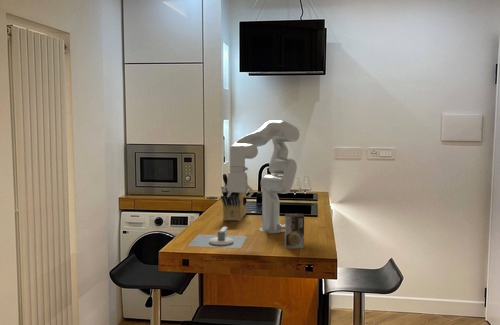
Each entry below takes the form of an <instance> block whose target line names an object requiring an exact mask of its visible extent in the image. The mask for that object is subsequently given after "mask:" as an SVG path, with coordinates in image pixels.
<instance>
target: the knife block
mask: <svg viewBox="0 0 500 325" xmlns="http://www.w3.org/2000/svg"><path fill="white" fill-rule="evenodd" d="M227 179H228V174H226V173H224V174H222V180H223V183H224V186H221V187H220V190H221V193H222V195H221V196H220V199H221V203H222V216H223V217H222V218H223V221H225V222H226V221H238V222H241V220H242V219H243V218H244V217H245V215H246V214H247V211H248V208H247V207H248V206H247V203H246V204H245V206H244V205H243V198H244V195H243V193H242V192H232V193H231V205H229V203H228V197H227V196H226V195H225V194H224V192H223V191H222V188H223V187H225V186H226V185H227ZM225 190H226V191H227V188H226V189H225ZM227 192H228V191H227ZM228 193H229V192H228Z"/></svg>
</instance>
